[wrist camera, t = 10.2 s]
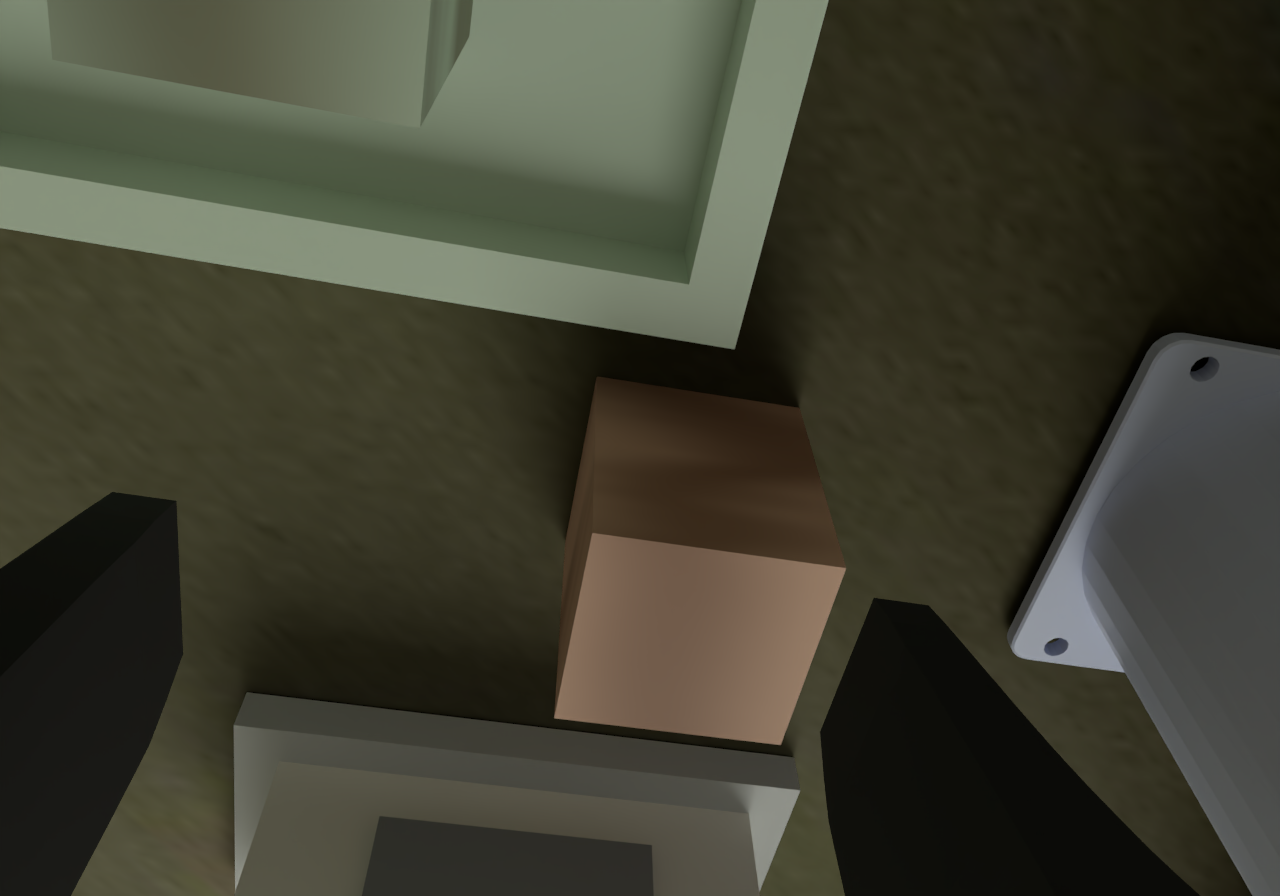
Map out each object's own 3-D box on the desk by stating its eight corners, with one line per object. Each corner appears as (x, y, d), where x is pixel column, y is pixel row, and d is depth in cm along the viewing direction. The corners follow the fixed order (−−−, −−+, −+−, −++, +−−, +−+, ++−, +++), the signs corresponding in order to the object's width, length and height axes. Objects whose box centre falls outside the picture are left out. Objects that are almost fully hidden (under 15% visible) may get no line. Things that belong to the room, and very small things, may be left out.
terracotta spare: (799, 406, 21) (846, 568, 17) (749, 565, 23) (781, 744, 19) (597, 375, 20) (592, 532, 16) (565, 540, 22) (554, 718, 18)
